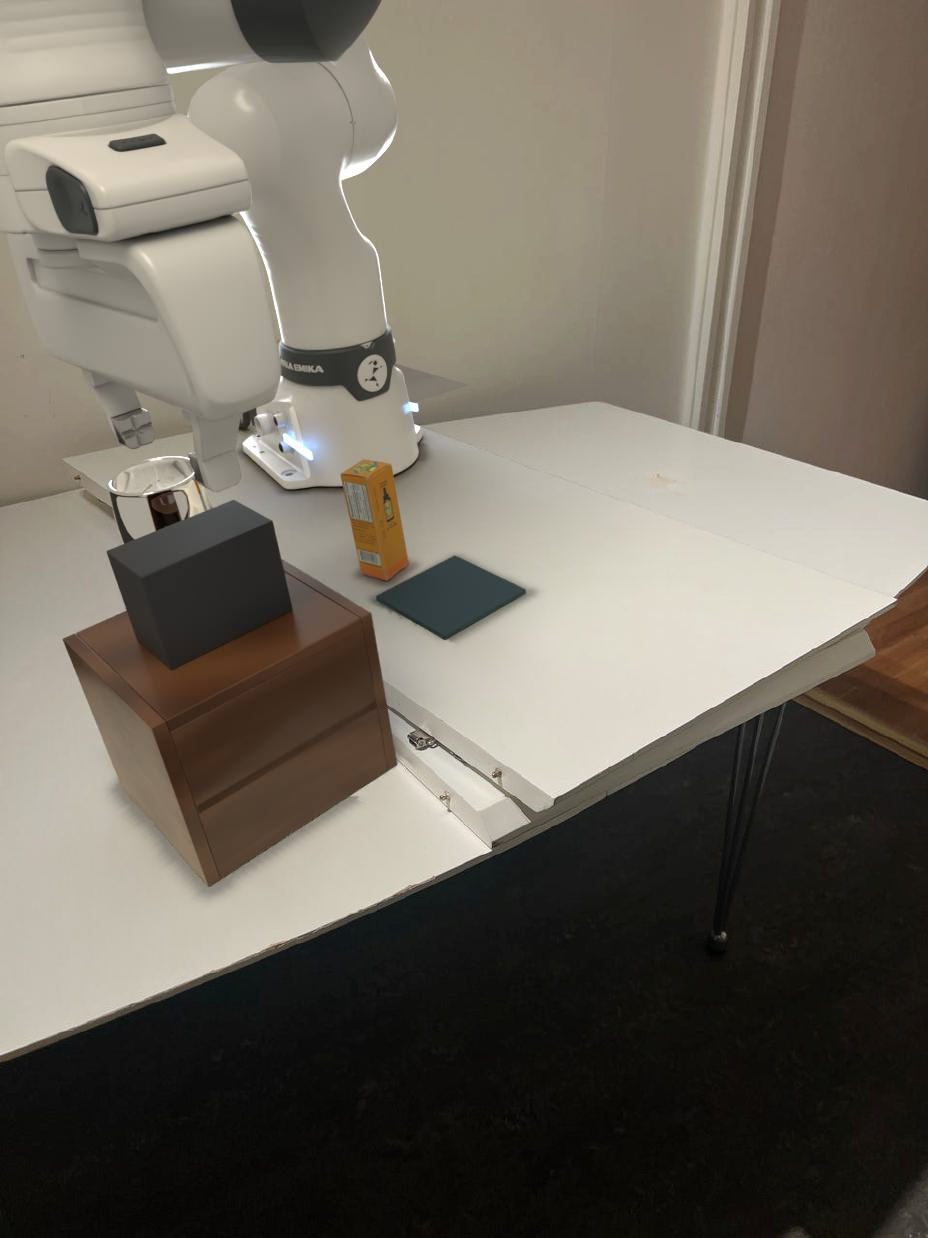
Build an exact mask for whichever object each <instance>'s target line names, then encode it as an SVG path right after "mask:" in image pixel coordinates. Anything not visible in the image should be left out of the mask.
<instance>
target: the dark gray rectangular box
mask: <svg viewBox="0 0 928 1238" xmlns="http://www.w3.org/2000/svg"><path fill="white" fill-rule="evenodd" d="M280 551H281V550H280V547H279V542H278V537H277V533H276V529H275V525H274V521H273V520H271V518H268V517H266V516H264V515H263V514H261V513H259V512H258V511H255V510H254V509H252V508H250V507H249V506H247V505H244V504H243V503H241V502H239V501H237V500H236V499H231V500H229V501H227V502H223V503H221V504H220V505H217V506H214V507H213V508H212V509H209V510H207V511H204V512H202V513H199V514H197V515H194V516H192V517H189V518H187V519H184V520H182V521H180V522H177V523H175V524H172V525H170V526H167V527H165V528H162V529H160V530H157V531H155V532H152V533H150V534H147V535H145V536H142V537H140V538H137V539H135V540H132V541H130V542H128V543H125V544H119V545H118V546H115V547H112V548H110V549H108V550H106V555H107V558H108V561H109V564H110V567H111V569H112V572H113V576H114V578H115V581H116V584H117V586H118V589H119V592H120V595H121V598H122V601H123V604H124V608H125V611H126V610H127V613H128V616H129V619H130V621H131V624H132V627H133V630H134V633H135V636H136V639H137V641H138V642H140V643H141V644H142V645H143V646H144V647H145V648H146V649H147V650H149V651H150V652H151V653H152V654H153V655H154V656H155V657H157V658H158V659H159V660H160V661H161V662H162V663H163V664H165V665H166V666H167V667H168V668H169V669H170V670H173V669H175V668H177V667H179V666H181V665H183V664H185V663H187V662H189V661H191V660H194V659H196V658H198V657H200V656H202V655H204V654H206V653H208V652H210V651H212V650H214V649H216V648H218V647H220V646H222V645H224V644H226V643H228V642H230V641H232V640H234V639H236V638H238V637H240V636H242V635H244V634H246V633H248V632H250V631H252V630H254V629H256V628H258V627H260V626H262V625H264V624H266V623H268V622H270V621H272V620H274V619H276V618H278V617H280V616H282V615H284V614H286V613H288V612H290V611H292V610H293V608H292V604H291V599H290V595H289V590H288V586H287V582H286V577H285V573H284V568H283V564H282V560H281V559H282V555H281V552H280Z"/></svg>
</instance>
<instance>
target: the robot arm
mask: <svg viewBox="0 0 928 1238" xmlns="http://www.w3.org/2000/svg"><path fill="white" fill-rule="evenodd" d="M381 3H382V0H0V233H3V234H6V240H7V244H8V248H9V252H10V256H11V260H12V263H13V267H14V270H15V273H16V277H17V280H18V283H19V286H20V290H21V293H22V296H23V299H24V303H25V306H26V308H27V312H28V316H29V318H30V321H31V323H32V326H33V329H34V333H35V335H36V336H37V338H38V340H39V342H40V344H41V345H42V347H43V349H44V350H45V351H46V353H47V355H49V356H50V357H52V358H54V359H57V360H58V361H59V360H60V361H62V362H64V363H67V364H69V365H71V366H74V367H77V368H78V369H80V370H81V372H82V375H83V378H84V381H85V384H86V385H87V387H88V388H89V390H90V392H91V394H92V395H93V397H94V398H95V400H96V402H97V403H98V405H99V407H100V409H101V410H102V412H103V413H104V415H105V416H106V418H107V420H108V424H109V427H110V430H111V433H112V435H113V438H114V440H115V442H116V443H117V444H118V445H122V446H123V447H126V448H128V449H130V450H137V449H140V448H141V447H143V446H147V445H150V444H152V443H153V442H154V441H155V439H156V432H155V429H154V428H153V426H152V424H153V423H152V419H151V416H150V413H149V411H148V410H147V409H145V408H143V407H142V405H141V402H140V399H139V397H138V396H137V392H138V393H140V394H143V395H145V396H148V397H151V398H153V399H155V400H158V401H160V402H162V403H165V404H167V405H170V406H171V407H175V408H177V409H180V410H181V413H182V416H183V420H184V423H185V425H186V426H187V427H188V428H191V429H192V438H193V450H194V451H193V452H190V453H187V456H188V458H189V460H190V463H191V467H192V469H193V470H194V477H195V480H196V481H197V482H198V484H200V485H202V486H204V487H206V489H207V490H210V492H214V493H220V492H222V491H226V490H228V489H230V488H232V487H235V486H237V485H238V484H239V483H240V482H241V480H242V470H241V467H240V463H239V458H238V455H237V451H236V449H237V442H238V436H239V430H240V428H241V429H248V428H249V427H250V425H251V426H253V427H255V429H256V431H257V432H254V433H253V434H251V435H250V436H249V437H247V438H246V439H245V440H244V441H243V442H242V451H243V453H245V454H246V455H247V456H248V457H249V458H250V459H251V460H253V461H254V462H255V463H256V464H257V465H258V466H259V467H260V468H261V469H262V470H264V471H265V472H266V473H267V474H268V475H269V476H270V477H271V478H272V479H273V480H275V482H276V483H278V484H279V485H280V486H281V487H282V488H284V489H285V490H299V489H307V488H313V487H343V485H342V480H341V476H340V474H341V473H342V472H344V471H346V470H347V469H349V468H350V467H352V466H354V465H355V464H357V463H358V462H360V461H361V460H363V459H365V460H373V461H379V462H384V463H390V464H391V465H392V470H393V476H394V475H397V474H399V473H401V472H404V471H405V470H406V469H408V468H410V467H411V465H413V464H414V463H415V461H416V460H417V459H418V457H419V455H420V449H419V446H418V444H419V442H420V441H421V439H422V438H423V431H422V427H421V426H420V425H418V424H415V421H414V417H413V413H412V412H414V413H415V412H416V413H417V412H419V404H418V403H417V402H416V403H415V402H411V401H410V398H409V394H408V389H407V385H406V381H405V376H404V373H403V372H402V370H401V369H400V368H398V367H396V366H395V364H396V363H397V353H396V340H395V338H394V334H393V330H392V327H391V326H390V325H389V324H388V320H387V313H386V305H385V298H384V297H385V296H384V290H383V282H382V281H383V280H382V274H381V267H380V265H381V264H380V259H379V255H378V252H377V249H376V246H375V245H374V244H373V243H372V242H371V241H370V240H369V239H368V238H367V237H366V236H365V235H364V234H362V233H361V231H360V230H359V228H358V226H357V224H356V221H355V220H354V217H353V215H352V213H351V210H350V208H349V205H348V202H347V200H346V196H345V194H344V191H343V185H342V181H343V180H345V179H348V178H352V177H353V176H357V175H359V174H361V173H363V172H364V171H366V170H367V169H368V168H369V167H371V165H373V164H374V163H375V162H376V161H377V160H378V159H379V158H380V157H381V156H382V155H383V154H384V153H385V152H386V150H387V149H388V148H389V146H390V145H391V143H392V142H393V140H394V137H395V134H396V132H397V127H398V120H399V117H398V116H399V112H398V104H397V103H398V102H397V99H396V94H395V91H394V89H393V87H392V84H391V83H390V80H389V79H388V78H387V75H385V73H384V72H383V70H381V68H380V67H379V66H378V64H377V62H376V61H375V58H374V56H373V54H372V51H371V48H370V45H369V42H368V39H367V36H366V32H365V29H366V28H367V27H368V25H369V24H370V22H371V21H372V19H373V17H374V16H375V14H376V12H377V11H378V9H379V7H380V5H381ZM223 67H225V68H226V67H228V68H226V69H224V70H223V71H221V72H219V73H217V74H216V75H214V76H212V78H210V79H208V80H206V81H205V82H204V83H203V84H202V85H201V86H199V88H198V89H197V90H196V92H195V93H194V94H193V96H192V98H191V101H190V104H189V107H188V110H187V115H185V114H183V113H181V112H180V113H179V111H178V107H177V104H176V99H175V95H174V91H173V87H172V84H171V79H170V74H178V73H179V74H180V73H186V72H193V71H202V70H208V69H216V68H223ZM235 214H240V216H241V217H242V219H243V221H244V222H245V224H246V225H244V223H243V222H242V221H241V220H240V219H239V218H238V217H236V216H234V215H235ZM246 226H247V227H246ZM258 250H259V251H258ZM259 252H260V254H259ZM260 255H261V257H262V261H263V263H264V266H265V269H266V273H267V276H268V281H269V284H270V289H271V294H272V299H273V304H274V309H275V313H276V318H277V322H278V327H279V331H280V336H281V338H280V339H278V338H277V332H276V326H275V321H274V317H273V312H272V306H271V301H270V297H269V292H268V287H267V282H266V278H265V274H264V269H263V265H262V262H261V258H260ZM241 414H242V418H241Z"/></svg>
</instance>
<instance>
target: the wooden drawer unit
mask: <svg viewBox="0 0 928 1238" xmlns="http://www.w3.org/2000/svg"><path fill="white" fill-rule="evenodd" d="M281 560H282V564H283V568H284V573H285V577H286V582H287V586H288V590H289V595H290V599H291V604H292V608H293V610H292V611H290V612H288V613H286V614H284V615H282V616H280V617H278V618H276V619H274V620H272V621H270V622H268V623H266V624H264V625H262V626H260V627H258V628H256V629H254V630H252V631H250V632H248V633H246V634H244V635H242V636H240V637H238V638H236V639H234V640H232V641H230V642H228V643H226V644H224V645H222V646H220V647H218V648H216V649H214V650H212V651H210V652H208V653H206V654H204V655H202V656H200V657H198V658H196V659H194V660H191V661H189V662H187V663H185V664H183V665H181V666H179V667H177V668H175V669H173V670H170V669H169V668H168V667H167V666H166V665H165V664H163V663H162V662H161V661H160V660H159V659H158V658H157V657H155V656H154V655H153V654H152V653H151V652H150V651H149V650H147V649H146V648H145V647H144V646H143V645H142V644H141V643H140V642H138V641H137V639H136V636H135V633H134V630H133V627H132V624H131V621H130V619H129V616H128V613H127V610H126V609H125V610H124V611H122V612H119V613H118V614H115V615H113V616H111V617H108V618H106V619H104V620H102V621H100V622H97V623H95V624H93V625H90V626H88V627H86V628H83V629H81V630H79V631H77V632H76V633H72V634H70V635H68V636H65V637H63V638H62V643H63V645H64V647H65V650H66V653H67V654H68V656H69V659H70V662H71V664H72V667H73V669H74V671H75V674H76V676H77V679H78V682H79V684H80V686H81V688H82V692H83V694H84V697H85V699H86V702H87V704H88V706H89V709H90V712H91V714H92V717H93V719H94V722H95V724H96V727H97V729H98V731H99V734H100V737H101V739H102V741H103V745H104V747H105V749H106V751H107V753H108V756H109V758H110V759H109V760H110V761H111V763H112V767H113V769H114V772H115V774H116V776H117V779H118V781H119V784H120V786H121V788H122V789H123V790H124V791H125V792H126V794H127V795H128V796H129V797H130V798H131V799H132V801H134V803H135V804H136V805H137V807H139V808H140V809H141V811H142V812H143V813H144V814H145V815H146V817H147V818H148V819H149V820H150V821H151V822H152V824H153V825H154V826H155V827H156V828H157V829H158V830H159V832H160V833H161V834H162V835H163V837H164V838H165V839H167V841H168V842H169V843H170V845H172V847H173V848H174V849H175V850H176V851H177V852H178V853H179V854H180V855H181V857H182V858H183V859H184V861H186V863H187V864H188V865H189V866H190V867H191V868H192V870H193V871H194V872H195V873H196V874H197V876H198V877H199V878H200V879H201V880H202V881H203V883H205V885H206V886H207V887H210V886H212V885H214V884H215V883H217V882H219V881H220V880H221V879H223V878H225V877H227V876H228V875H230V874H231V873H232V872H234V871H236V870H237V869H239V868H240V867H242V866H243V865H245V864H246V863H247V862H249V861H251V860H253V859H254V858H255V857H257V856H258V855H260V854H262V853H264V852H265V851H266V850H268V849H269V848H271V847H272V846H274V845H276V844H277V843H278V842H280V841H282V840H283V839H285V838H287V837H288V836H290V835H291V834H293V833H294V832H295V831H297V830H299V829H300V828H301V827H303V826H305V825H306V824H308V823H310V822H311V821H313V820H314V819H315V818H317V817H319V816H321V815H322V814H323V813H325V812H326V811H328V810H330V809H332V808H333V807H334V806H335V805H337V804H339V803H340V802H342V801H344V800H345V799H346V798H348V797H350V796H351V795H353V794H355V793H356V792H357V791H359V790H360V789H362V788H363V787H365V786H367V785H369V784H370V783H371V782H374V780H376V779H378V778H379V777H381V776H382V775H384V774H385V773H387V772H388V771H389V770H391V769H392V768H394V767H396V766H397V765H398V761H397V755H396V749H395V743H394V737H393V731H392V725H391V720H390V713H389V708H388V707H389V706H388V702H387V695H386V689H385V685H384V678H383V673H382V667H381V661H380V655H379V650H378V643H377V638H376V632H375V626H374V619H373V615H372V614H373V613H372V612H371V611H369V610H368V609H366V608H365V607H363V606H361V605H359V604H358V603H356V602H355V601H353V600H351V599H350V598H348V597H346V596H345V595H343V594H341V593H339V592H338V591H336V590H334V589H333V588H331V587H329V586H328V585H326V584H324V583H323V582H321V581H319V580H318V579H316V578H314V577H313V576H311V575H309V574H308V573H306V572H304V571H302V570H301V569H299V568H297V567H296V566H295V565H293V564H291V563H289V562H288V561H286V560H284V559H283V558H281Z"/></svg>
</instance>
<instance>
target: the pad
mask: <svg viewBox="0 0 928 1238" xmlns="http://www.w3.org/2000/svg"><path fill="white" fill-rule="evenodd" d="M526 593H527V590H526V588H524V587H522V586H520V585H518V584H515V583H513V582H511V581H509V580H507V579H505V578H503V577H501V576H500V575H497V574H495V573H492V572H491V571H488V570H487V569H485V568H482V567H480V566H478V565H476V564H474V563H472V562H470V561H468V560H466V559H463V558H461V557H459V556H457V555H452V556H451V557H449V558H446V559H444V560H443V561H441V562H439V563H436V564H435V565H433V566H431V567H429V568H427V569H425V570H423V571H422V572H419V573H418V574H416V575H413V576H412V577H410V578H408V579H406V580H404V581H402V582H399V583H398V584H396V585H394V586H392V587H391V588H388V589H386V590H384V591H383V592H381V593H378V594H377V595H375V601H378V602H379V603H381V604H383V605H384V606H386V607H388V608H390V609H391V610H393V611H395V612H397V613H399V614H400V615H402V616H403V617H406V618H407V619H409V620H410V621H412V622H414V623H416V624H417V625H419V626H421V627H423V628H424V629H426V630H427V631H429V632H431V633H432V634H434V635H437V636H438V637H440V638H442V639H443V640H447V639H449V638H452V636H454V635H456V634H457V633H460V632H461V631H463V630H464V629H466V628H468V627H470V626H471V625H474V624H475V623H477V622H479V621H480V620H482V619H484V618H485V617H487V616H490V614H492V613H494V612H496V611H498V610H499V609H501V608H503V607H504V606H506V605H508V604H510V603H511V602H513V601H515V600H517V599H518V598H520V597H522V596H524V595H525V594H526Z"/></svg>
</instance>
